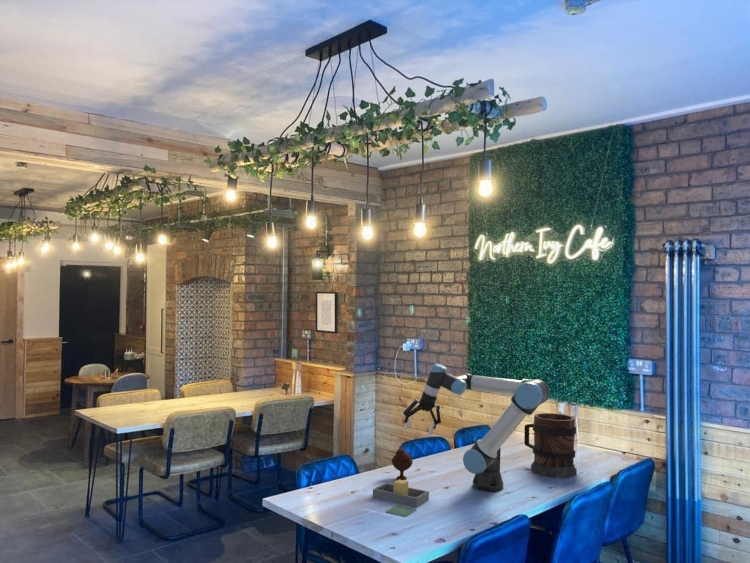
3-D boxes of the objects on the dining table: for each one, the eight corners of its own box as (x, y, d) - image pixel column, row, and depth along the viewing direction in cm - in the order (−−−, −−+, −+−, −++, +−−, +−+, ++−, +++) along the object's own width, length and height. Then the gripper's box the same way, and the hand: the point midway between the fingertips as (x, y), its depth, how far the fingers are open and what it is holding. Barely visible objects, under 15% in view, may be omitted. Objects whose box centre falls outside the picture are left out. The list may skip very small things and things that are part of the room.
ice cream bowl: (387, 479, 317) (388, 450, 317) (397, 474, 327) (397, 445, 327) (406, 483, 312) (407, 453, 312) (415, 477, 322) (416, 448, 322)
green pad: (416, 511, 271) (416, 509, 271) (405, 517, 262) (405, 516, 262) (396, 506, 276) (396, 504, 276) (385, 513, 268) (385, 511, 268)
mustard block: (408, 498, 286) (408, 481, 286) (402, 501, 282) (403, 483, 282) (398, 496, 289) (398, 479, 289) (393, 499, 285) (393, 481, 285)
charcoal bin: (428, 501, 285) (429, 491, 285) (416, 508, 274) (417, 498, 274) (385, 492, 296) (385, 482, 297) (372, 498, 286) (372, 489, 286)
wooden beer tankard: (562, 480, 322) (563, 423, 323) (513, 468, 343) (514, 414, 344) (584, 472, 339) (584, 417, 339) (536, 461, 360) (537, 409, 360)
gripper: (450, 396, 319) (437, 433, 322) (405, 385, 313) (393, 423, 316) (455, 401, 311) (441, 439, 315) (409, 390, 306) (396, 429, 309)
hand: (417, 431), depth 315 cm, fingers open, 13 cm apart
